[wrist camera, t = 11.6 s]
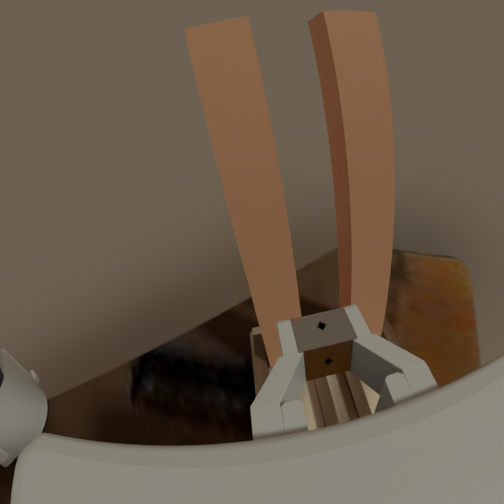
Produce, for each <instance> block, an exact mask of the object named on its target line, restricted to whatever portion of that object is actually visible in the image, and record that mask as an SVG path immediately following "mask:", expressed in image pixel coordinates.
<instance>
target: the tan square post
mask: <svg viewBox="0 0 504 504" xmlns="http://www.w3.org/2000/svg"><path fill="white" fill-rule="evenodd" d="M308 24H309V29H310V33H311V37H312V42H313V47H314V52H315V57H316V62H317V67H318V73H319V78H320V84H321V90H322V96H323V102H324V109H325V115H326V122H327V130H328V137H329V146H330V154H331V162H332V172H333V183H334V193H335V194H334V195H335V206H336V222H337V240H338V264H339V308H342V307H345V306H349V305H353V304H356V305H357V306H358V308H359V310H360V312H361V314H362V316H363V318H364V320H365V322H366V324H367V326H368V328H369V330H370V332H371V334H377V335H379V336H381V334H382V328H383V322H384V316H385V310H386V303H387V295H388V287H389V279H390V269H391V258H392V245H393V230H394V205H395V204H394V203H395V164H394V163H395V162H394V138H393V122H392V111H391V101H390V91H389V84H388V76H387V69H386V62H385V56H384V51H383V46H382V40H381V34H380V30H379V25H378V20H377V16H376V13H373V12H359V11H322V12H321V13H320V14H318V15H317V16H315V17H314V18H313V19H311V20H310V21H308Z"/></svg>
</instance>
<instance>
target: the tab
mask: <svg viewBox="0 0 504 504" xmlns="http://www.w3.org/2000/svg"><path fill="white" fill-rule="evenodd" d="M185 34H186V39H187V43H188V47H189V52H190V55H191V60H192V64H193V68H194V73H195V77H196V81H197V85H198V89H199V93H200V97H201V101H202V105H203V110H204V113H205V117H206V122H207V126H208V130H209V134H210V138H211V142H212V146H213V150H214V154H215V158H216V161H217V166H218V169H219V174H220V178H221V182H222V185H223V189H224V193H225V197H226V201H227V205H228V209H229V213H230V217H231V221H232V224H233V228H234V232H235V236H236V240H237V244H238V247H239V251H240V255H241V259H242V263H243V267H244V270H245V274H246V278H247V282H248V285H249V288H250V293H251V297H252V300H253V304H254V308H255V312H256V315H257V319H258V323H259V326H260V330H261V334H262V337H263V341H264V345H265V348H266V352H267V356H268V359H269V363H270V367H271V368H272V367H273V366H274V364H275V363H276V361H277V359H278V357H282V351H281V346H280V341H279V336H278V331H277V326H276V322H277V321H283V320H288V319H292V318H297V317H301V309H300V301H299V294H298V286H297V279H296V271H295V264H294V257H293V250H292V243H291V237H290V230H289V224H288V217H287V211H286V205H285V198H284V192H283V186H282V181H281V175H280V169H279V164H278V158H277V152H276V147H275V141H274V136H273V131H272V125H271V120H270V115H269V110H268V106H267V100H266V96H265V90H264V86H263V81H262V76H261V72H260V67H259V62H258V58H257V53H256V49H255V44H254V40H253V36H252V32H251V27H250V23H249V19H248V16H246V17H239V18H234V19H228V20H224V21H218V22H214V23H209V24H205V25H201V26H197V27H193V28H189V29H185Z"/></svg>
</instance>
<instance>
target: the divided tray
mask: <svg viewBox="0 0 504 504" xmlns="http://www.w3.org/2000/svg"><path fill="white" fill-rule="evenodd" d="M381 337H382V338H384V339H386V340H388V341H389V342H391V343H393V344H395V345H397V346H398V347H400V348H402V346H401V344H400V342H399V340H398V338H397V336H396V334H395V333H394V331H393V329H392V327H391V325H390V323H389V322H388V320H387V318H386V316H384V322H383V328H382V334H381ZM250 340H251V351H252V362H253V372H254V382H255V393H256V396H257V395H258V393H259V391H260V389H261V388H262V386H263V384H264V382H265V381H266V379H267V377H268V375H269V374H270V372H271V370H272V368H273V367H272V368H271V367H270V363H269V359H268V356H267V352H266V348H265V345H264V341H263V337H262V334H261V330H260V326H259V327H254V328H252V332H250ZM402 349H403V348H402ZM379 397H380V395H379V394H377V393H376V392H375V391H374V390H372V389H371V388H370V387H369V386H367V385H366V384H365V383H364V382H362V381H361V380H360V379H359V378H357V377H356V376H355V375H354V374H353V373H351V372H350V371H346V372H342V373H338V374H334V375H329V376H325V377H322V378H318V379H314V380H310V381H306V385H305V387H304V390H303V392H302V395H301V397H300V400H299V401H301V402H302V403H303V408H304V412H305V417H306V421H307V425H308V430H314V429H318V428H323V427H327V426H331V425H335V424H339V423H342V422H346V421H350V420H353V419H356V418H360V417H363V416H366V415H370V414H373V413H375V412H374V411H375V409H376V406H377V403H378V400H379Z"/></svg>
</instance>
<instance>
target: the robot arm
mask: <svg viewBox="0 0 504 504" xmlns="http://www.w3.org/2000/svg"><path fill="white" fill-rule="evenodd" d="M276 326H277V331H278V336H279V341H280V346H281V351H282V357H278V359H277V361H276V363H275V364H274V366H273V368H272V370H271V372H270V374H269V375H268V377H267V379H266V381H265V382H264V384H263V386H262V388H261V389H260V391H259V393H258V395H257V396H256V398H255V400H254V402H253V403H252V405H251V407H250V409H251V421H252V433H253V440H251V441H243V442H233V443H222V444H208V445H182V446H158V445H133V444H119V443H108V442H99V441H91V440H83V439H77V438H71V437H65V436H59V435H54V434H50V433H42V431H43V428H44V425H45V422H46V418H47V410H48V405H47V398H46V395H45V392H44V391H43V389H42V388H41V387H40V385H39V377H38V374H37V373H36V372H35V371H33V370H29V371H26V370H25V369H24V368H23V367H21V366H20V365H19V364H18V363H17V362H16V361H15V360H14V359H13V358H12V357H11V356H10V355H9V354H8V353H7V352H6V351H5V350H4V349H0V464H1V465H2V466H3V467H7V466H9V465H10V464H11V463H12V461H13V460H14V459H15V458H16V457H18V456H19V457H18V459H17V463H16V467H15V473H14V479H13V485H12V494H11V504H504V354H502V355H501V356H499V357H497V358H496V359H494V360H492V361H491V362H489V363H487V364H485V365H484V366H482V367H480V368H478V369H476V370H474V371H473V372H471V373H469V374H467V375H465V376H463V377H461V378H459V379H457V380H455V381H453V382H451V383H449V384H447V385H444V386H442V387H440V388H439V387H438V385H437V383H436V381H435V379H434V378H433V376H432V374H431V372H430V370H429V368H428V366H427V364H426V363H425V361H423V360H422V359H420V358H418V357H416V356H414V355H413V354H411V353H409V352H407V351H405V350H404V349H402V348H400V347H398V346H397V345H395V344H393V343H391V342H389V341H388V340H386V339H384V338H382V337H381V336H379V335H377V334H371V332H370V330H369V328H368V326H367V324H366V322H365V320H364V318H363V316H362V314H361V312H360V310H359V308H358V306H357V305H356V304H353V305H349V306H345V307H342V308H337V309H333V310H329V311H325V312H321V313H317V314H313V315H308V316H303V317H297V318H292V319H288V320H283V321H277V322H276ZM346 371H350V372H351V373H353V374H354V375H355V376H356V377H357V378H359V379H360V380H361V381H362V382H364V383H365V384H366V385H367V386H369V387H370V388H371V389H372V390H374V391H375V392H376V393H377V394H379V395H380V397H379V400H378V403H377V406H376V409H375V411H374V412H375V413H373V414H370V415H366V416H363V417H360V418H356V419H353V420H350V421H346V422H342V423H339V424H335V425H331V426H327V427H323V428H318V429H314V430H308V425H307V421H306V417H305V412H304V408H303V403H302V402H301V401H299V400H300V397H301V395H302V392H303V390H304V387H305V385H306V381H310V380H314V379H318V378H322V377H325V376H329V375H334V374H338V373H342V372H346Z"/></svg>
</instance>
